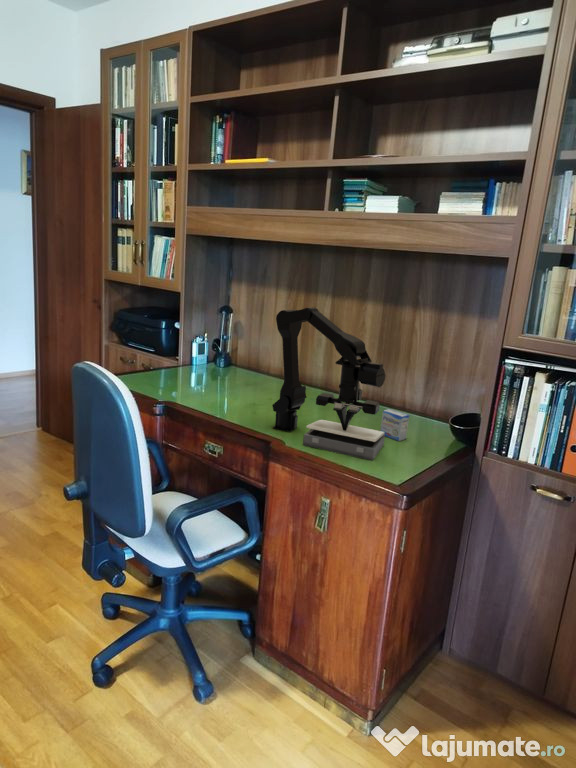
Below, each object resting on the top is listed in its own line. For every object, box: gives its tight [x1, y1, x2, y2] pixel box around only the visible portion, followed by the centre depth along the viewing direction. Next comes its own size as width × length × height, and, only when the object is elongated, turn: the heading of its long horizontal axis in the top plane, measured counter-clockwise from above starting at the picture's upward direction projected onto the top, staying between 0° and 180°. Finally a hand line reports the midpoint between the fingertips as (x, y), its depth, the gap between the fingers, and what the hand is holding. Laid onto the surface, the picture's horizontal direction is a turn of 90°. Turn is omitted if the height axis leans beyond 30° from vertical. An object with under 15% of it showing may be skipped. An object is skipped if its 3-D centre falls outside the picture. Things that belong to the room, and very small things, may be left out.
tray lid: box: [306, 419, 385, 442], centre depth 165 cm, size 22×14×1 cm, turn 68°
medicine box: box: [379, 408, 410, 442], centre depth 176 cm, size 8×4×9 cm, turn 45°
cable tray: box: [302, 428, 385, 461], centre depth 165 cm, size 22×16×4 cm
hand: (344, 430), depth 162 cm, fingers closed, pressing on tray lid
